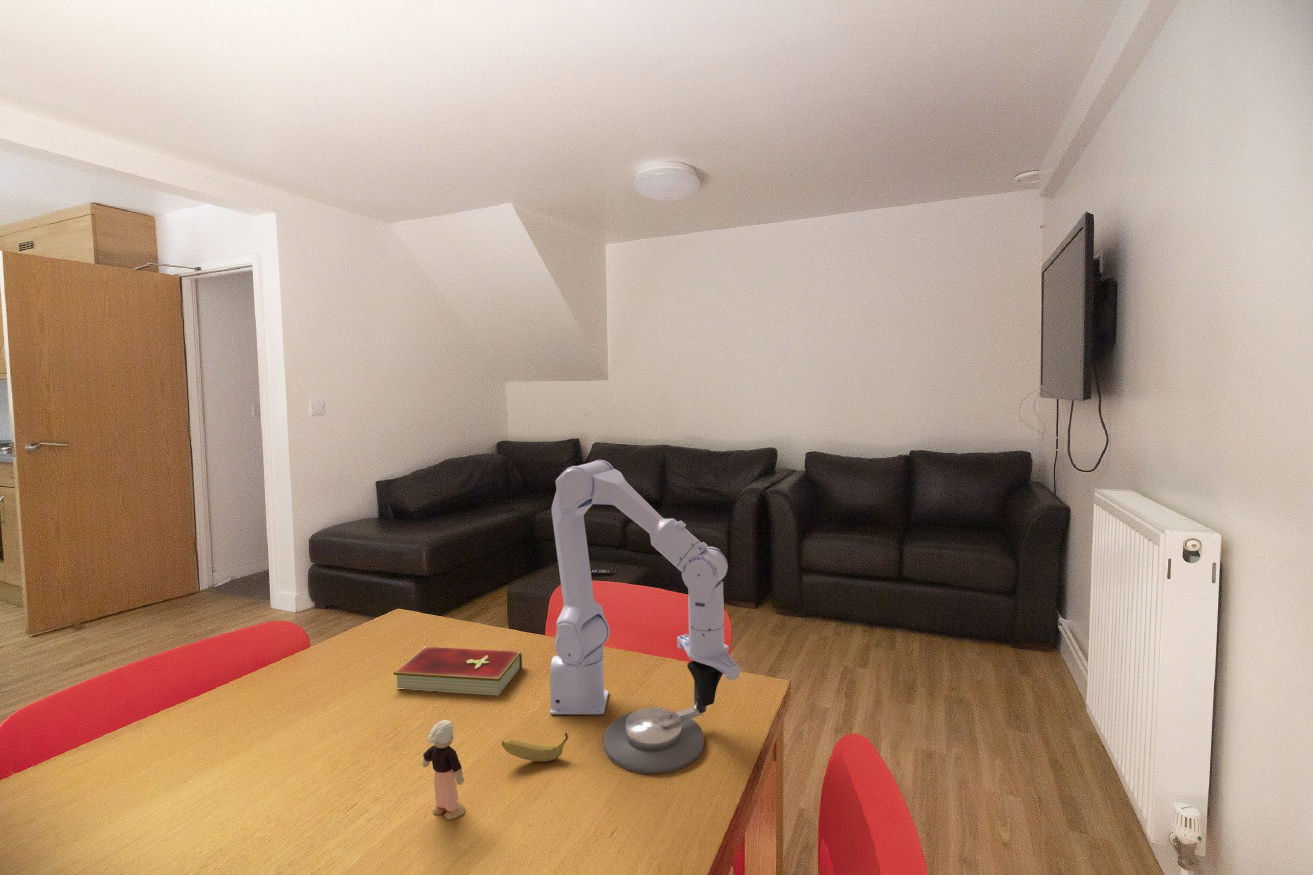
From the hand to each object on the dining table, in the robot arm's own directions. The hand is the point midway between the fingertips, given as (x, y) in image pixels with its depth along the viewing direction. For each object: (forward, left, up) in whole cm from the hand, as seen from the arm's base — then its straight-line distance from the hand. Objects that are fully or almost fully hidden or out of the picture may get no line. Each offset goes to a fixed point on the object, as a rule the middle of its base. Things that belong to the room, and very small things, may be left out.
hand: (707, 703), depth 104 cm
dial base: (-9, -3, -5) cm, 11 cm away
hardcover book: (-48, +19, -6) cm, 51 cm away
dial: (-6, -1, -3) cm, 7 cm away
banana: (-27, -8, -5) cm, 28 cm away
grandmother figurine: (-37, -19, -5) cm, 42 cm away
